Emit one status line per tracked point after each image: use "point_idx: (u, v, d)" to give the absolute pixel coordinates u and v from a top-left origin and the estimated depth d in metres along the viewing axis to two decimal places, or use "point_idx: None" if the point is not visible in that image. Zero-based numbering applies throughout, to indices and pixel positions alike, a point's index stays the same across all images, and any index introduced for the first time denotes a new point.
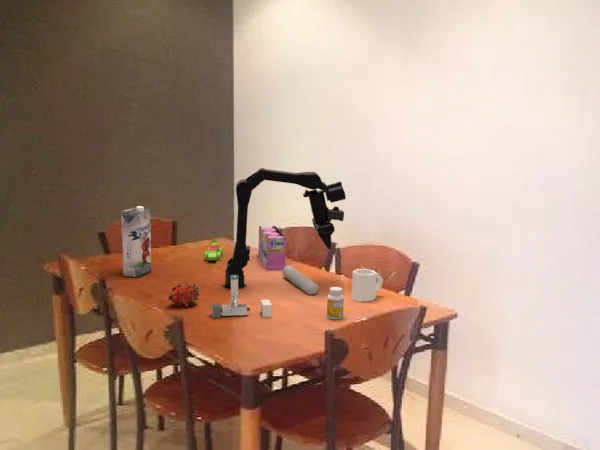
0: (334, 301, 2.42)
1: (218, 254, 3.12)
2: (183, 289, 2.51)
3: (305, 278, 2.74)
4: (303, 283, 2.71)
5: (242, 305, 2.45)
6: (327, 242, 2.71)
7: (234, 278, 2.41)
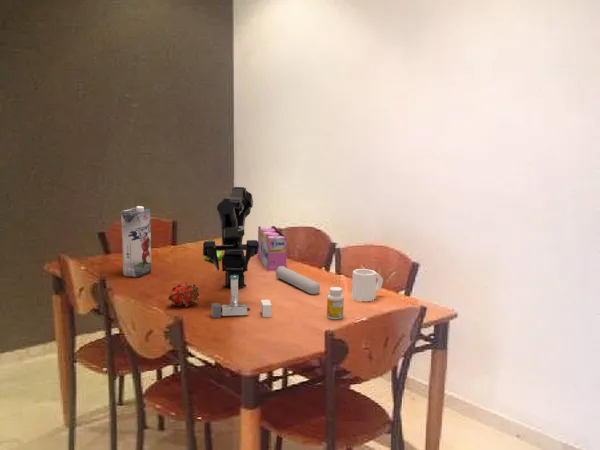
0: (334, 301, 2.42)
1: (219, 254, 3.13)
2: (183, 289, 2.51)
3: (305, 278, 2.74)
4: (304, 283, 2.71)
5: (242, 305, 2.45)
6: (215, 263, 2.50)
7: (234, 278, 2.41)
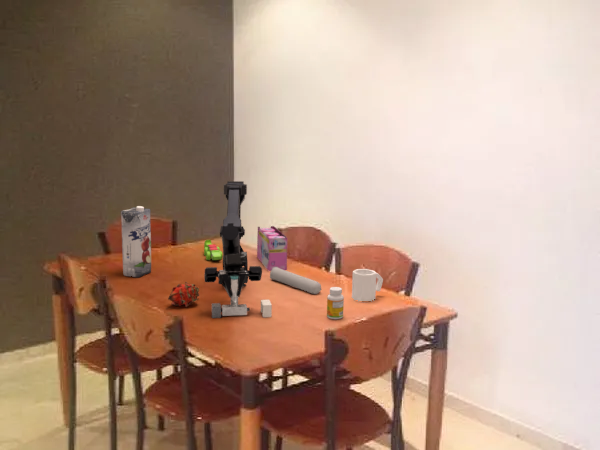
0: (334, 301, 2.42)
1: (220, 253, 3.14)
2: (183, 289, 2.51)
3: (304, 278, 2.73)
4: (305, 283, 2.71)
5: (242, 305, 2.45)
6: (226, 290, 2.43)
7: (234, 278, 2.41)
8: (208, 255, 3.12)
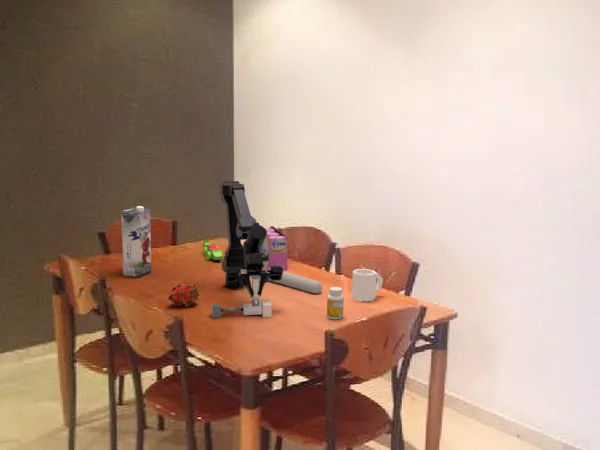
0: (334, 301, 2.42)
1: (221, 253, 3.14)
2: (183, 289, 2.51)
3: (304, 278, 2.73)
4: (305, 283, 2.71)
5: None
6: (248, 289, 2.44)
7: (255, 277, 2.42)
8: (209, 255, 3.12)
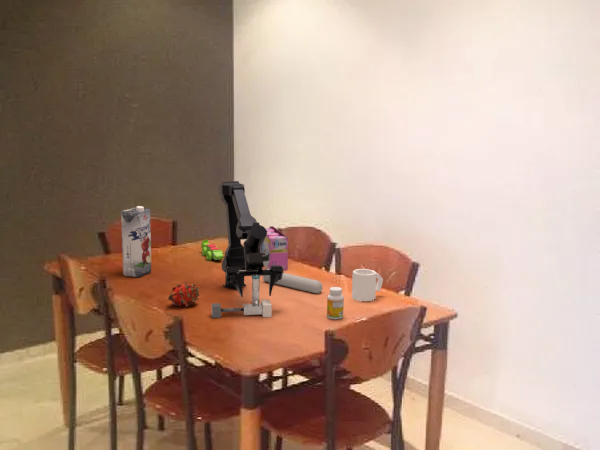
0: (334, 301, 2.42)
1: (221, 253, 3.15)
2: (183, 289, 2.51)
3: (304, 278, 2.73)
4: (306, 283, 2.71)
5: None
6: (238, 289, 2.44)
7: (256, 277, 2.42)
8: (209, 255, 3.12)
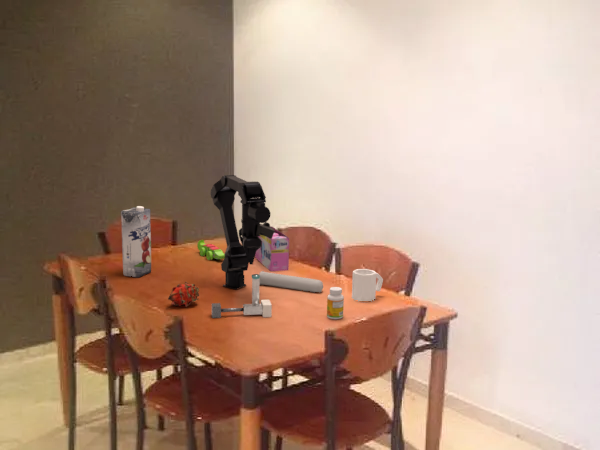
0: (334, 301, 2.42)
1: None
2: (183, 289, 2.51)
3: (304, 278, 2.73)
4: (307, 283, 2.71)
5: None
6: (250, 257, 2.57)
7: (256, 277, 2.42)
8: (211, 255, 3.12)
